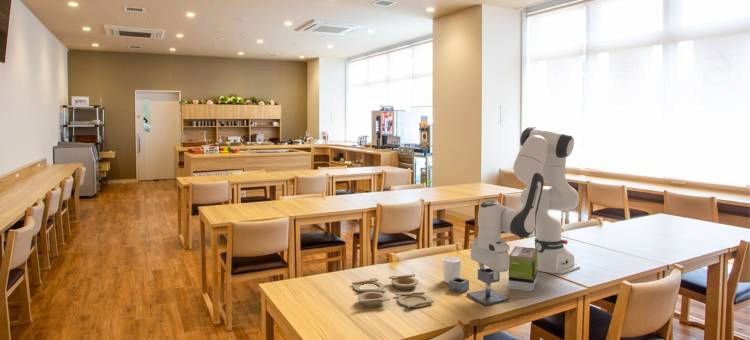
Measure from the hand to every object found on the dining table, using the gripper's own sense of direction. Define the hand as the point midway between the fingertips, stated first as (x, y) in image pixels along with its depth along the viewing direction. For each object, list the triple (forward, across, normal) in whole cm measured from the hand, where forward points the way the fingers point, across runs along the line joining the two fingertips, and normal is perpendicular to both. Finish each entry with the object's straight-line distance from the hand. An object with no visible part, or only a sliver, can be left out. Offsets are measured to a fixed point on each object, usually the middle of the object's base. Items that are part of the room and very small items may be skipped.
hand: (488, 276), depth 193 cm
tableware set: (+10, -22, -33) cm, 40 cm away
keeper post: (+9, 0, 0) cm, 9 cm away
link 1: (+9, -13, -5) cm, 17 cm away
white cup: (+9, -23, -2) cm, 25 cm away
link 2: (+2, 0, 0) cm, 2 cm away
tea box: (+9, -6, +23) cm, 26 cm away
